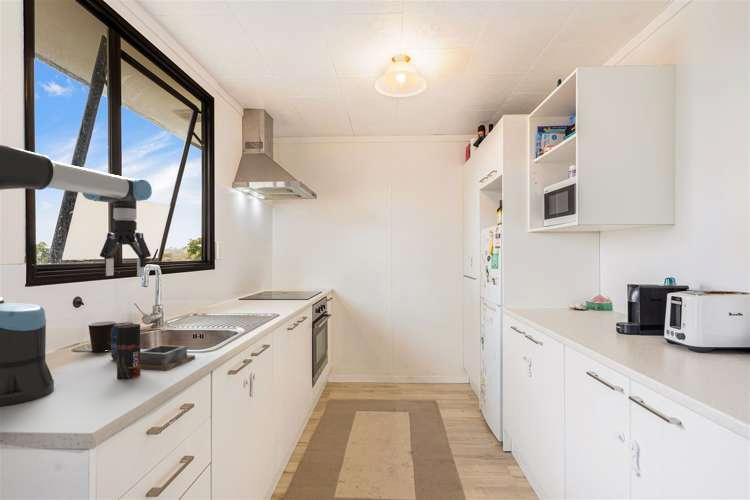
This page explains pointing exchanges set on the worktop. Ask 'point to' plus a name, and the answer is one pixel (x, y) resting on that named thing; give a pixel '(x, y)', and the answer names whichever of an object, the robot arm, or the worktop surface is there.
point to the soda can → (115, 340)
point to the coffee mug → (101, 335)
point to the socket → (164, 357)
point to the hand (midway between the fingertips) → (125, 275)
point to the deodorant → (128, 351)
